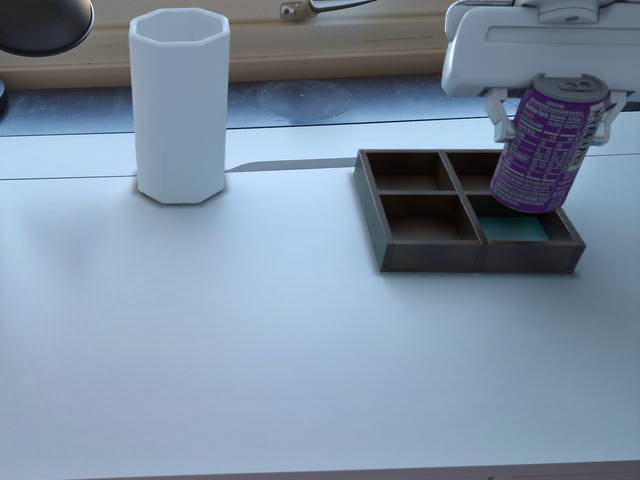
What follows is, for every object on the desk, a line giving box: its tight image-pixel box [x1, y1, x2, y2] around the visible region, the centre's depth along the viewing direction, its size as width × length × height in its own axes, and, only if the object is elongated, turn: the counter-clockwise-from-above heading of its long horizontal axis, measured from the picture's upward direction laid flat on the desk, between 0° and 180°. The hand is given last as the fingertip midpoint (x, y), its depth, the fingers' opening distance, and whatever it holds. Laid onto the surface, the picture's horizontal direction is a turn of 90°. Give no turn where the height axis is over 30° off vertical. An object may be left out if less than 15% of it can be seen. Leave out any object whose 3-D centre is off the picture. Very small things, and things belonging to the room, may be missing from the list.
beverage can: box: [490, 73, 609, 213], centre depth 66 cm, size 7×7×12 cm
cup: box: [128, 7, 231, 205], centre depth 79 cm, size 11×11×18 cm
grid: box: [353, 148, 587, 275], centre depth 77 cm, size 19×19×4 cm
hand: (550, 142), depth 65 cm, fingers closed on beverage can, 7 cm apart
